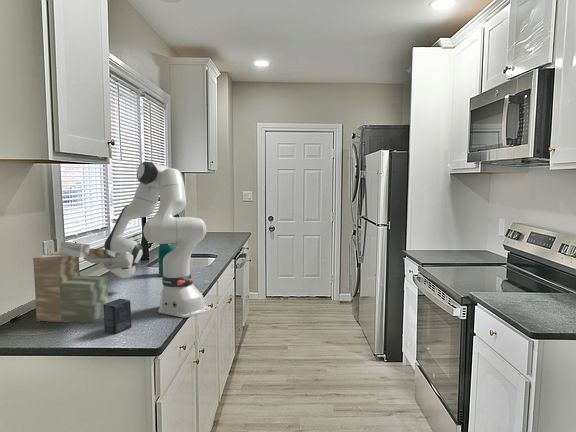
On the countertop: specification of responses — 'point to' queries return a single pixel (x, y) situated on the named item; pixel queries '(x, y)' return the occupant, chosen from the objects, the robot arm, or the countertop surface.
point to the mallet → (80, 250)
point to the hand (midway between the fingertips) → (100, 251)
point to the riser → (67, 290)
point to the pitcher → (163, 255)
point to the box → (117, 316)
